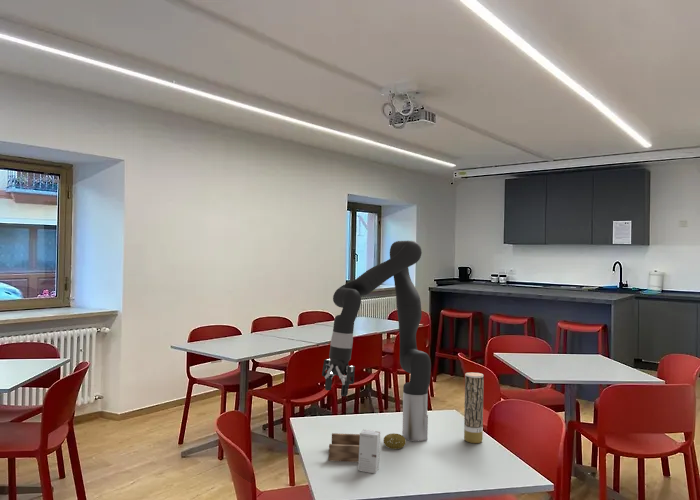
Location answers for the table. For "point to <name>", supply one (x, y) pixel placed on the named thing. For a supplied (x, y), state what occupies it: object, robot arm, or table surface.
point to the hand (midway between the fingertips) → (335, 393)
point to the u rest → (344, 447)
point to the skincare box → (369, 451)
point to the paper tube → (473, 407)
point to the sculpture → (394, 441)
